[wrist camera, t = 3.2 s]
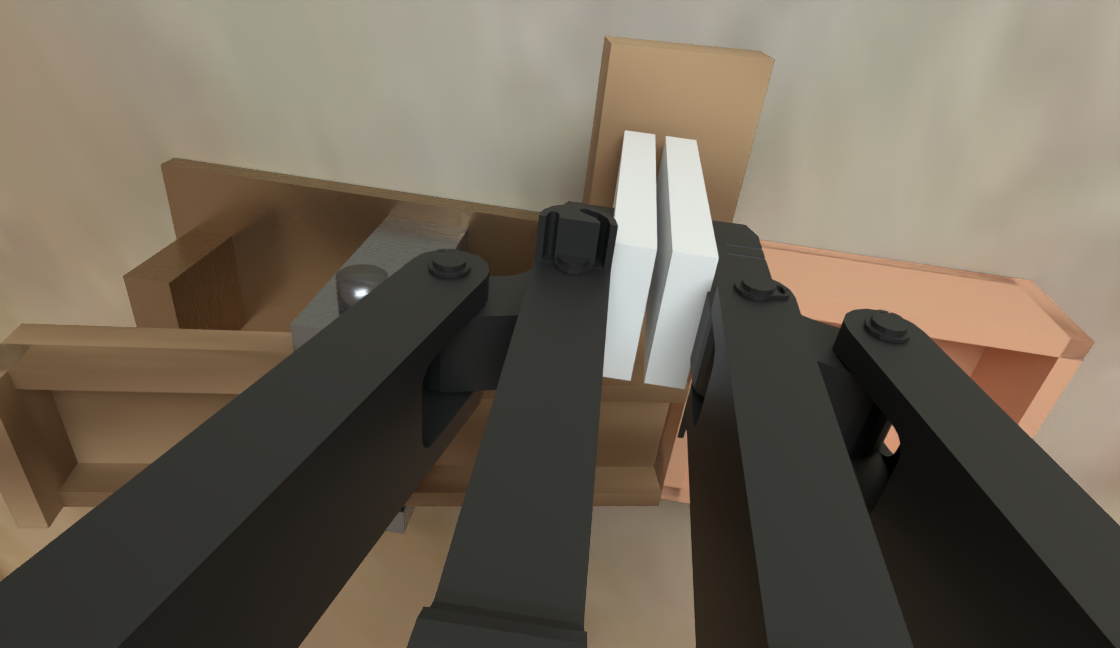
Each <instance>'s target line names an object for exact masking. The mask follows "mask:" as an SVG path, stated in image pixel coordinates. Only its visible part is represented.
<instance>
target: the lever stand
mask: <svg viewBox="0 0 1120 648" xmlns="http://www.w3.org/2000/svg"><path fill="white" fill-rule="evenodd" d="M161 169H162V173H163V178H164V182H165V187H166V192H167V196H168V201H169V205H170V210H171V215H172V219H173V224H174V229H175V233H176V238H177V240H176V241H174V242H173V243H171V244H170V245H168V246H167V247H166V248H164V249H163V250H161V251H160V252H158V253H157V254H155V255H154V256H152V257H151V258H149V259H148V260H146V261H145V262H143V263H142V264H140V265H139V266H137V267H136V268H134V269H133V270H131V271H130V272H128V273H127V274H125V275H124V276H123V278H124V281H125V285H126V289H127V292H128V296H129V300H130V303H131V307H132V311H133V314H134V318H135V322H136V325H137V327H140V328H171V329H201V330H231V331H261V332H291V334H292V341H293V349H294V351H296V350H297V349H298V348H299V347H301V346H302V345H303V344H304V343H306V342H307V341H308V340H310V339H311V338H312V337H313V336H315V335H316V334H317V333H319V332H320V331H321V330H322V329H324V328H325V327H326V326H327V325H329V324H330V323H331V322H333V321H334V320H335V319H336V318H338V317H339V316H340V315H341V314H343V313H344V312H345V311H347V310H348V309H349V308H350V307H352V306H353V305H354V304H356V303H357V302H358V301H359V300H361V299H362V298H363V297H364V296H366V295H367V294H368V293H370V292H371V291H372V290H373V289H375V288H376V287H377V286H378V285H380V284H381V283H382V282H384V281H385V280H386V279H387V278H389V277H390V276H391V275H393V274H394V273H395V272H396V271H398V270H399V269H400V268H401V267H403V266H404V265H405V264H407V263H408V262H409V261H410V260H412V259H413V258H415V257H417V256H419V255H420V254H422V253H425V252H430V251H435V250H437V249H446V250H448V249H457V250H458V251H464V252H469V253H471V254H474V255H476V256H479V257H480V258H482V259H483V260H484V261H485V262H487V264H488V267H489V270H490V274H489V276H510V275H517V274H521V273H525V272H527V271H529V270H532V267H533V264H534V260H535V252H536V241H537V230H538V220H539V214H540V212H533V211H526V210H520V209H513V208H506V207H500V206H493V205H486V204H479V203H473V202H466V201H459V200H453V199H446V198H439V197H433V196H426V195H419V194H413V193H406V192H399V191H392V190H386V189H379V188H372V187H366V186H359V185H352V184H346V183H339V182H332V181H326V180H319V179H312V178H305V177H299V176H292V175H285V174H279V173H272V172H265V171H259V170H252V169H245V168H239V167H232V166H225V165H218V164H212V163H205V162H198V161H192V160H185V159H178V158H173V159H171V160H169V161H167V162H165V163H163V164H161ZM414 508H415V506H403V507H402V509H401V510H400V511H399V513H398V514H397V515H396V517H395V518H394V519H393V521H392V522H391V523H390V525H389V526H388V528H387V529H386V530H385V531H391V532H396V533H402V534H404V532H405V530H406V527H407V525H408V523H409V520H410V518H411V515H412V513H413V510H414Z"/></svg>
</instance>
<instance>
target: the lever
mask: <svg viewBox="0 0 1120 648" xmlns="http://www.w3.org/2000/svg"><path fill="white" fill-rule="evenodd" d="M774 61H775V59H773V58H771V57H770V56H768V55H766V54H764V53H763V52H761V51H753V50H742V49H732V48H722V47H712V46H702V45H692V44H682V43H671V42H661V41H651V40H641V39H631V38H621V37H611V36H605V38H604V46H603V54H602V61H601V69H600V76H599V84H598V91H597V99H596V107H595V114H594V122H593V129H592V137H591V144H590V152H589V160H588V167H587V175H586V182H585V190H584V197H583V204H590V205H597V206H604V207H611V208H613V202H614V196H615V189H616V183H617V177H618V170H619V164H620V158H621V151H622V145H623V139H624V132H625V130H627V131H634V132H641V133H649V134H655V147H656V184H657V179H658V173H659V168H660V163H661V158H662V152H663V147H664V142H665V137H666V136H670V137H677V138H685V139H692V140H696V141H697V147H698V152H699V157H700V162H701V167H702V173H703V178H704V183H705V188H706V194H707V199H708V204H709V209H710V215H711V220H714V221H721V222H728V223H732V221H733V217H734V213H735V210H736V206H737V202H738V198H739V194H740V191H741V187H742V183H743V179H744V175H745V171H746V168H747V164H748V160H749V156H750V152H751V149H752V145H753V141H754V137H755V133H756V130H757V126H758V122H759V118H760V114H761V110H762V107H763V103H764V99H765V95H766V91H767V88H768V84H769V80H770V76H771V72H772V69H773V65H774ZM293 352H294V349H293V341H292V334H291V332H261V331H231V330H201V329H171V328H140V327H110V326H80V325H50V324H21V325H20V326H19V327H18V328H17V329H16V330H15V331H14V332H13V333H12V334H11V335H10V336H8V337H7V338H6V339H5V340H4V341H3V342H2V343H1V344H0V492H1V494H2V496H3V498H4V500H5V502H6V504H7V506H8V509H9V511H10V513H11V515H12V517H13V519H14V521H15V523H16V525H17V528H49V527H50V525H51V524H52V522H53V521H54V519H55V518H56V517H57V515H58V514H59V512H60V511H61V509H62V508H63V507H96V506H98V505H99V504H100V503H102V502H103V501H104V500H105V499H107V498H108V497H109V496H110V495H112V494H113V493H114V492H116V491H117V490H118V489H119V488H121V487H122V486H123V485H125V484H126V483H127V482H128V481H130V480H131V479H132V478H133V477H135V476H136V475H137V474H139V473H140V472H141V471H142V470H144V469H145V468H146V467H147V466H149V465H150V464H151V463H153V462H154V461H155V460H156V459H158V458H159V457H160V456H162V455H163V454H164V453H165V452H167V451H168V450H169V449H170V448H172V447H173V446H174V445H176V444H177V443H178V442H179V441H181V440H182V439H183V438H184V437H186V436H187V435H188V434H190V433H191V432H192V431H193V430H195V429H196V428H197V427H199V426H200V425H201V424H202V423H204V422H205V421H206V420H207V419H209V418H210V417H211V416H213V415H214V414H215V413H216V412H218V411H219V410H220V409H222V408H223V407H224V406H225V405H227V404H228V403H229V402H230V401H232V400H233V399H234V398H236V397H237V396H238V395H239V394H241V393H242V392H243V391H244V390H246V389H247V388H248V387H250V386H251V385H252V384H253V383H255V382H256V381H257V380H259V379H260V378H261V377H262V376H264V375H265V374H266V373H267V372H269V371H270V370H271V369H273V368H274V367H275V366H276V365H278V364H279V363H280V362H281V361H283V360H284V359H285V358H287V357H288V356H289V355H290V354H292V353H293ZM644 360H645V312H644V317H643V322H642V327H641V332H640V337H639V342H638V347H637V352H636V357H635V361H634V366H633V371H632V376H631V381H628V380H622V379H615V378H609V377H603V379H602V392H601V405H600V418H599V431H598V444H597V457H596V470H595V483H594V496H593V506H659V502H660V498H661V494H662V492H661V489H660V485H659V482H658V479H657V475H656V472H655V469H654V465H655V461H656V457H657V452H658V448H659V444H660V440H661V436H662V432H663V428H664V424H665V420H666V416H667V412H668V408H669V404H670V403H686V399H687V395H688V391H689V388H690V387H689V385H688V382H687V383H686V386H685V389H680V388H673V387H667V386H660V385H654V384H647V383H644ZM495 393H496V390H486V391H483V396H482V399H481V402H480V404H479V405H478V407H477V408H476V409H475V411H474V412H473V413H472V415H471V416H470V417H469V419H468V420H467V421H466V423H465V424H464V425H463V427H462V428H461V430H460V431H459V432H458V434H457V435H456V436H455V438H454V439H453V440H452V442H451V443H450V444H449V446H448V447H447V448H446V450H445V451H444V452H443V454H442V455H441V456H440V458H439V459H438V460H437V462H436V463H435V464H434V466H433V467H432V468H431V470H430V471H429V472H428V474H427V475H426V477H425V478H424V479H423V481H422V482H421V483H420V485H419V486H418V487H417V489H416V490H415V491H414V493H413V494H412V495H411V497H410V498H409V499H408V501H407V502H406V503H405V505H404V506H462V505H463V501H464V498H465V494H466V491H467V488H468V484H469V481H470V478H471V474H472V471H473V467H474V464H475V461H476V457H477V454H478V450H479V447H480V444H481V440H482V437H483V433H484V430H485V427H486V423H487V420H488V416H489V413H490V410H491V406H492V403H493V399H494V396H495Z"/></svg>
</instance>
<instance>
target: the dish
mask: <svg viewBox="0 0 1120 648" xmlns="http://www.w3.org/2000/svg"><path fill="white" fill-rule="evenodd" d="M760 243H761V246H762V250H763V253H764V256H765V260H766V262H767V265H768V268H769V271H770V274H771V277H772V279H773V280H775V281H778V282H780V283H781V284H783V285H784V286H786V287H787V288H789V289H790V290H791V292H792V293H793V294H794V296H795V297H796V300H797V303H798V306H799V309H800V312H801V315H803V316H805V317H808V318H811V319H813V320H816V321H819V322H822V323H825V324H828V325H832V326H835V327H838V328H840V327H841V324H842V322H843V319H844V317H845V314H846V313H848V312H850V311H852V310H856V309H873V310H879V309H880V310H885V311H889V313H891V312H892V313H895V314H898V315H900V316H901V317H902V318H904V319H906V320H908V321H910V322H912V323H913V324H915V325H916V326H917V327H919V328H920V329H921V330H923V331H924V332H925V333H926V334H927V335H928V336H929V337H930V338H931V339H932V340H933V341H934V342H935V343H936V344H937V345H938V346H939V347H940V348H941V349H942V350H943V351H944V352H945V353H946V354H947V355H948V356H949V357H950V358H951V359H952V360H953V361H954V362H955V363H956V364H957V365H958V366H959V367H960V368H961V369H962V370H963V371H964V372H965V373H966V374H967V375H968V376H969V377H970V378H971V379H972V380H973V381H974V382H975V383H976V384H977V385H978V386H979V387H980V388H981V389H982V390H983V391H984V392H985V393H986V394H987V395H988V396H989V397H990V398H991V399H992V400H993V401H994V402H995V403H997V404H998V405H999V406H1000V407H1001V408H1002V409H1003V410H1004V411H1005V412H1006V413H1007V414H1008V415H1009V416H1010V417H1011V418H1012V419H1013V420H1014V421H1015V422H1016V423H1017V424H1018V425H1019V426H1020V427H1021V428H1022V429H1023V430H1024V431H1025V432H1026V433H1027V434H1028V435H1029V436H1030V437H1031V438H1032V439H1033V438H1034V436H1035V435H1036V433H1037V432H1038V430H1039V428H1040V427H1041V425H1042V424H1043V422H1044V421H1045V419H1046V417H1047V416H1048V414H1049V413H1050V411H1051V410H1052V408H1053V406H1054V405H1055V403H1056V402H1057V400H1058V399H1059V397H1060V396H1061V394H1062V392H1063V391H1064V389H1065V388H1066V386H1067V385H1068V383H1069V381H1070V380H1071V378H1072V377H1073V375H1074V374H1075V372H1076V370H1077V369H1078V367H1079V366H1080V364H1081V363H1082V361H1083V359H1084V358H1085V356H1086V355H1087V353H1088V352H1089V350H1090V349H1091V347H1092V345H1093V344H1094V341H1093V340H1092V339H1091V338H1090V337H1089V336H1088V335H1087V334H1086V333H1085V332H1084V331H1083V330H1082V329H1081V328H1080V327H1079V326H1078V325H1077V324H1076V323H1075V322H1073V321H1072V320H1071V319H1070V318H1069V317H1068V316H1067V315H1066V314H1065V313H1064V312H1063V311H1062V310H1061V309H1060V308H1059V307H1058V306H1057V305H1056V304H1055V303H1054V302H1053V301H1052V300H1051V299H1050V298H1049V297H1048V296H1047V295H1046V294H1045V293H1044V292H1043V291H1042V290H1041V289H1040V288H1039V287H1038V286H1037V285H1036V284H1035V283H1034V282H1033V281H1031V280H1024V279H1017V278H1011V277H1004V276H997V275H990V274H984V273H977V272H970V271H964V270H957V269H950V268H943V267H937V266H930V265H923V264H917V263H910V262H903V261H896V260H890V259H883V258H876V257H870V256H863V255H856V254H849V253H843V252H836V251H829V250H823V249H816V248H809V247H803V246H796V245H789V244H782V243H776V242H769V241H762V240H760ZM687 382H688V385H689V387H691V383H692V377H691V367H690V371H689V375H688V379H687ZM689 391H690V388H689ZM689 391H688V395H689ZM688 395H687V398H688ZM686 402H687V399H686ZM685 406H686V403H670V404H669V408H668V412H667V416H666V420H665V424H664V428H663V432H662V436H661V440H660V489H661V492H662V494H661V499H667V500H673V501H679V502H684V503H690V494H689V471H688V448H687V430H686V432H685V435H684V438H678V437H677V436H678V432H679V428H680V425H681V421H682V417H683V413H684V410H685ZM884 443H885V444H886V446H887V447H888V449H889V450H890V451H891V452H892V453H893V454H894V453H895V451H896V450H897V448H898V446H899V445H900V441H899V437H898V434H897V432H896V430H895V429H894V427H893V426H891V428H890V430H889V432H888V434H887V436H886V438H885V440H884Z"/></svg>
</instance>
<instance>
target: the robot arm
mask: <svg viewBox="0 0 1120 648" xmlns="http://www.w3.org/2000/svg"><path fill="white" fill-rule="evenodd" d="M489 274H490V270H489V267H488V264H487V262H485V261H484V260H483V259H482V258H480V257H479V256H476V255H474V254H471V253H469V252H464V251H458V250H457V249H448V250H446V249H437V250H435V251H430V252H425V253H422V254H420V255H419V256H417V257H415V258H413V259H412V260H410V261H409V262H408V263H407V264H405V265H404V266H403V267H401V268H400V269H399V270H398V271H396V272H395V273H394V274H393V275H391V276H390V277H389V278H387V279H386V280H385V281H384V282H382V283H381V284H380V285H378V286H377V287H376V288H375V289H373V290H372V291H371V292H370V293H368V294H367V295H366V296H364V297H363V298H362V299H361V300H359V301H358V302H357V303H356V304H354V305H353V306H352V307H350V308H349V309H348V310H347V311H345V312H344V313H343V314H341V315H340V316H339V317H338V318H336V319H335V320H334V321H333V322H331V323H330V324H329V325H327V326H326V327H325V328H324V329H322V330H321V331H320V332H319V333H317V334H316V335H315V336H313V337H312V338H311V339H310V340H308V341H307V342H306V343H304V344H303V345H302V346H301V347H299V348H298V349H297V350H296V351H294V352H293V353H292V354H290V355H289V356H288V357H287V358H285V359H284V360H283V361H281V362H280V363H279V364H278V365H276V366H275V367H274V368H273V369H271V370H270V371H269V372H267V373H266V374H265V375H264V376H262V377H261V378H260V379H259V380H257V381H256V382H255V383H253V384H252V385H251V386H250V387H248V388H247V389H246V390H244V391H243V392H242V393H241V394H239V395H238V396H237V397H236V398H234V399H233V400H232V401H230V402H229V403H228V404H227V405H225V406H224V407H223V408H222V409H220V410H219V411H218V412H216V413H215V414H214V415H213V416H211V417H210V418H209V419H207V420H206V421H205V422H204V423H202V424H201V425H200V426H199V427H197V428H196V429H195V430H193V431H192V432H191V433H190V434H188V435H187V436H186V437H184V438H183V439H182V440H181V441H179V442H178V443H177V444H176V445H174V446H173V447H172V448H170V449H169V450H168V451H167V452H165V453H164V454H163V455H162V456H160V457H159V458H158V459H156V460H155V461H154V462H153V463H151V464H150V465H149V466H147V467H146V468H145V469H144V470H142V471H141V472H140V473H139V474H137V475H136V476H135V477H133V478H132V479H131V480H130V481H128V482H127V483H126V484H125V485H123V486H122V487H121V488H119V489H118V490H117V491H116V492H114V493H113V494H112V495H110V496H109V497H108V498H107V499H105V500H104V501H103V502H102V503H100V504H99V505H98V506H96V507H95V508H94V509H93V510H91V511H90V512H89V513H87V514H86V515H85V516H84V517H82V518H81V519H80V520H79V521H77V522H76V523H75V524H73V525H72V526H71V527H70V528H68V529H67V530H66V531H65V532H63V533H62V534H61V535H59V536H58V537H57V538H56V539H54V540H53V541H52V542H50V543H49V544H48V545H47V546H45V547H44V548H43V549H42V550H40V551H39V552H38V553H36V554H35V555H34V556H33V557H31V558H30V559H29V560H28V561H26V562H25V563H24V564H22V565H21V566H20V567H19V568H17V569H16V570H15V571H13V572H12V573H11V574H10V575H8V576H7V577H6V578H5V579H3V580H2V581H1V582H0V648H298V647H299V646H300V644H301V643H302V642H303V640H304V639H305V638H306V636H307V635H308V634H309V632H310V631H311V630H312V628H313V627H314V626H315V624H316V623H317V621H318V620H319V619H320V617H321V616H322V615H323V613H324V612H325V611H326V609H327V608H328V607H329V605H330V604H331V603H332V601H333V600H334V599H335V597H336V596H337V595H338V593H339V592H340V591H341V589H342V588H343V587H344V585H345V584H346V583H347V581H348V580H349V579H350V577H351V576H352V574H353V573H354V572H355V570H356V569H357V568H358V566H359V565H360V564H361V562H362V561H363V560H364V558H365V557H366V556H367V554H368V553H369V552H370V550H371V549H372V548H373V546H374V545H375V544H376V542H377V541H378V540H379V538H380V537H381V536H382V534H383V533H384V532H385V530H386V529H387V528H388V526H389V525H390V523H391V522H392V521H393V519H394V518H395V517H396V515H397V514H398V513H399V511H400V510H401V509H402V507H403V506H404V505H405V503H406V502H407V501H408V499H409V498H410V497H411V495H412V494H413V493H414V491H415V490H416V489H417V487H418V486H419V485H420V483H421V482H422V481H423V479H424V478H425V477H426V475H427V474H428V472H429V471H430V470H431V468H432V467H433V466H434V464H435V463H436V462H437V460H438V459H439V458H440V456H441V455H442V454H443V452H444V451H445V450H446V448H447V447H448V446H449V444H450V443H451V442H452V440H453V439H454V438H455V436H456V435H457V434H458V432H459V431H460V430H461V428H462V427H463V425H464V424H465V423H466V421H467V420H468V419H469V417H470V416H471V415H472V413H473V412H474V411H475V409H476V408H477V407H478V405H479V404H480V402H481V399H482V396H483V391H486V390H496V393H495V396H494V399H493V403H492V406H491V410H490V413H489V416H488V420H487V423H486V427H485V430H484V433H483V437H482V440H481V444H480V447H479V450H478V454H477V457H476V461H475V464H474V467H473V471H472V474H471V478H470V481H469V484H468V488H467V491H466V494H465V498H464V501H463V505H462V508H461V511H460V515H459V518H458V522H457V525H456V528H455V532H454V535H453V539H452V542H451V545H450V549H449V552H448V556H447V559H446V562H445V566H444V569H443V573H442V576H441V579H440V583H439V586H438V590H437V592H436V595H435V598H434V601H433V603H432V605H431V607H423V609H422V611H421V612H420V614H419V616H418V618H417V620H416V623H415V626H414V629H413V631H412V634H411V637H410V640H409V643H408V646H407V648H587V632H585V631H584V613H585V600H586V587H587V574H588V561H589V548H590V535H591V522H592V509H593V496H594V483H595V470H596V457H597V444H598V431H599V418H600V405H601V392H602V379H603V377H609V378H615V379H622V380H628V381H631V376H632V371H633V366H634V361H635V357H636V352H637V347H638V342H639V337H640V332H641V327H642V322H643V317H644V312H645V360H644V383H647V384H654V385H660V386H667V387H673V388H680V389H685V386H686V383H687V379H688V375H689V371H690V367H691V377H692V383H691V387H690V391H689V395H688V398H687V402H686V406H685V410H684V413H683V417H682V421H681V425H680V428H679V432H678V436H677V437H678V438H684V435H685V432H686V430H687V448H688V471H689V494H690V518H691V541H692V564H693V588H694V611H695V634H696V648H1120V526H1119V525H1118V524H1117V523H1116V522H1115V521H1114V520H1113V519H1112V518H1111V517H1110V516H1109V515H1108V514H1107V513H1106V512H1105V511H1104V510H1103V509H1102V508H1101V507H1100V506H1099V505H1098V504H1097V503H1096V502H1095V501H1094V500H1093V499H1092V498H1091V497H1090V496H1089V495H1088V494H1087V493H1086V492H1085V491H1084V490H1083V489H1082V488H1081V487H1080V486H1079V485H1078V484H1077V483H1076V482H1075V481H1074V480H1073V479H1072V478H1071V477H1070V476H1069V475H1068V474H1067V473H1066V472H1065V471H1064V470H1063V469H1062V468H1061V467H1060V466H1059V465H1058V464H1057V463H1056V462H1055V461H1054V460H1053V459H1052V458H1051V457H1050V456H1049V455H1048V454H1047V453H1046V452H1045V451H1044V450H1043V449H1042V448H1041V447H1040V446H1039V445H1038V444H1037V443H1036V442H1035V441H1034V440H1033V439H1032V438H1031V437H1030V436H1029V435H1028V434H1027V433H1026V432H1025V431H1024V430H1023V429H1022V428H1021V427H1020V426H1019V425H1018V424H1017V423H1016V422H1015V421H1014V420H1013V419H1012V418H1011V417H1010V416H1009V415H1008V414H1007V413H1006V412H1005V411H1004V410H1003V409H1002V408H1001V407H1000V406H999V405H998V404H997V403H995V402H994V401H993V400H992V399H991V398H990V397H989V396H988V395H987V394H986V393H985V392H984V391H983V390H982V389H981V388H980V387H979V386H978V385H977V384H976V383H975V382H974V381H973V380H972V379H971V378H970V377H969V376H968V375H967V374H966V373H965V372H964V371H963V370H962V369H961V368H960V367H959V366H958V365H957V364H956V363H955V362H954V361H953V360H952V359H951V358H950V357H949V356H948V355H947V354H946V353H945V352H944V351H943V350H942V349H941V348H940V347H939V346H938V345H937V344H936V343H935V342H934V341H933V340H932V339H931V338H930V337H929V336H928V335H927V334H926V333H925V332H924V331H923V330H921V329H920V328H919V327H917V326H916V325H915V324H913V323H912V322H910V321H908V320H906V319H904V318H902V317H901V316H900V315H898V314H895V313H892V312H891V313H889V311H885V310H880V309H879V310H873V309H856V310H852V311H850V312H848V313H846V314H845V317H844V319H843V322H842V324H841V327H840V328H838V327H835V326H832V325H828V324H825V323H822V322H819V321H816V320H813V319H811V318H808V317H805V316H803V315H801V312H800V309H799V306H798V303H797V300H796V297H795V296H794V294H793V293H792V292H791V290H790V289H789V288H787V287H786V286H784V285H783V284H781V283H780V282H778V281H775V280H773V279H772V277H771V274H770V271H769V268H768V265H767V262H766V260H765V256H764V253H763V250H762V246H761V243H760V240H759V237H758V236H757V235H756V234H755V233H754V232H753V231H752V230H750V229H749V228H748V227H747V226H746V225H742V224H735V223H728V222H721V221H714V220H711V215H710V209H709V204H708V199H707V194H706V188H705V183H704V178H703V173H702V167H701V162H700V157H699V152H698V147H697V141H696V140H692V139H685V138H677V137H670V136H666V137H665V142H664V147H663V152H662V158H661V163H660V168H659V173H658V179H657V184H656V147H655V134H649V133H641V132H634V131H627V130H625V132H624V139H623V145H622V151H621V158H620V164H619V170H618V177H617V183H616V189H615V196H614V202H613V208H611V207H604V206H597V205H590V204H583V203H576V202H567V203H566V204H564V205H557V206H552V207H549V208H547V209H544V210H543V211H542V212H541V213H540V214H539V220H538V230H537V241H536V252H535V260H534V264H533V267H532V270H529V271H527V272H525V273H521V274H517V275H510V276H489ZM891 426H893V427H894V429H895V430H896V432H897V434H898V437H899V441H900V445H899V446H898V448H897V450H896V451H895V453H894V454H893V453H892V452H891V451H890V450H889V449H888V447H887V446H886V444H885V443H884V440H885V438H886V436H887V434H888V432H889V430H890V428H891Z"/></svg>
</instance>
